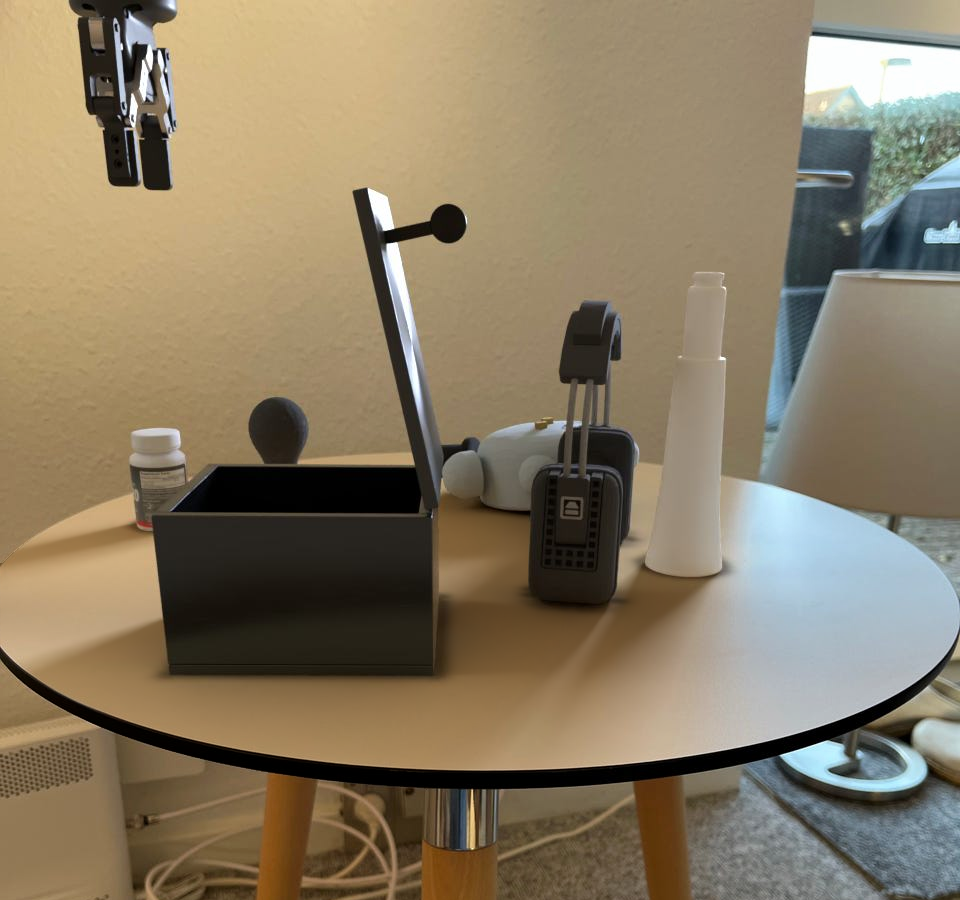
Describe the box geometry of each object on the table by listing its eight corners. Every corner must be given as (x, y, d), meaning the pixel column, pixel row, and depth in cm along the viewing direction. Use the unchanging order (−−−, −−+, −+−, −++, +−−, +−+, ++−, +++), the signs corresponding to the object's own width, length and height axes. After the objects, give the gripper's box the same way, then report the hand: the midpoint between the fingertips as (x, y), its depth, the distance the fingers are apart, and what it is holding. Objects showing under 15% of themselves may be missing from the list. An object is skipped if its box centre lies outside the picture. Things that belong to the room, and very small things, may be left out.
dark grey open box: (169, 677, 60) (150, 515, 56) (220, 599, 73) (208, 463, 69) (433, 677, 60) (432, 517, 56) (439, 600, 73) (438, 464, 69)
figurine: (653, 486, 104) (473, 488, 111) (651, 402, 101) (465, 410, 108) (611, 529, 89) (405, 528, 96) (606, 431, 86) (394, 438, 93)
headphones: (612, 617, 70) (631, 313, 62) (521, 610, 71) (529, 310, 64) (631, 531, 90) (647, 293, 83) (560, 526, 91) (569, 291, 84)
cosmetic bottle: (718, 582, 77) (749, 274, 69) (639, 573, 79) (660, 273, 71) (725, 559, 83) (754, 271, 74) (650, 552, 84) (671, 270, 76)
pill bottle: (142, 519, 92) (131, 426, 89) (196, 518, 93) (187, 426, 89) (132, 534, 88) (120, 437, 85) (188, 532, 88) (178, 436, 85)
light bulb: (253, 510, 96) (245, 402, 92) (253, 495, 101) (246, 393, 97) (314, 507, 97) (308, 400, 93) (310, 493, 102) (305, 391, 98)
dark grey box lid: (351, 190, 50) (456, 167, 50) (374, 198, 63) (458, 179, 62) (425, 510, 56) (518, 491, 56) (432, 459, 69) (508, 443, 69)
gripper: (98, -37, 79) (123, 191, 85) (22, -90, 66) (59, 184, 72) (195, -35, 79) (213, 192, 85) (139, -89, 66) (165, 185, 72)
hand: (142, 188), depth 78 cm, fingers open, 8 cm apart
